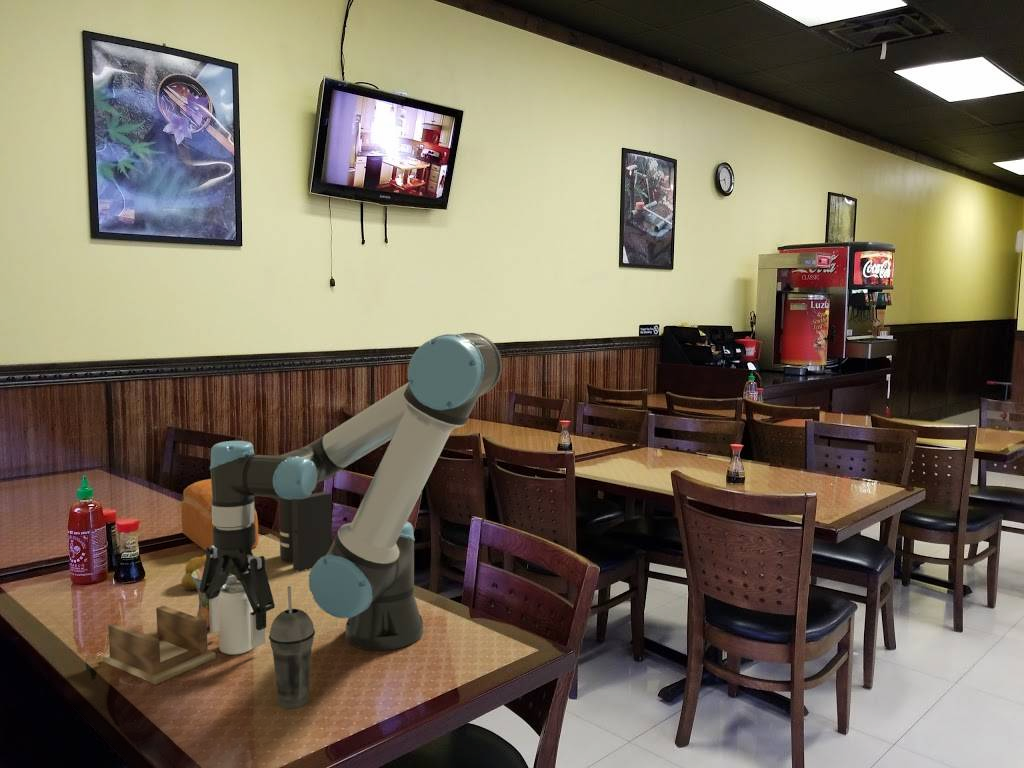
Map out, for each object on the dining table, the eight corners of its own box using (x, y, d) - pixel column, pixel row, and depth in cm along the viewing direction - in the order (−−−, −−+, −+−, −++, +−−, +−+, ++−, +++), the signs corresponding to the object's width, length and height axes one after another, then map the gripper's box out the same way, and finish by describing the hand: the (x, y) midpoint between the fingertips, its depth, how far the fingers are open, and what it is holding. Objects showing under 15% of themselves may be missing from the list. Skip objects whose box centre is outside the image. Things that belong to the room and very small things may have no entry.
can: (243, 637, 154) (241, 578, 153) (262, 647, 150) (260, 586, 149) (212, 649, 149) (210, 587, 148) (231, 659, 145) (229, 596, 144)
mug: (200, 635, 155) (198, 583, 154) (187, 620, 162) (185, 570, 161) (261, 620, 162) (259, 570, 161) (245, 606, 170) (244, 558, 168)
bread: (228, 525, 230) (226, 472, 228) (262, 548, 209) (260, 489, 208) (178, 534, 221) (176, 478, 219) (209, 558, 201) (207, 497, 199)
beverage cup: (320, 690, 134) (318, 576, 132) (311, 712, 126) (308, 592, 124) (277, 690, 133) (274, 576, 131) (265, 713, 126) (261, 592, 124)
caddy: (215, 658, 145) (214, 621, 144) (155, 684, 135) (154, 645, 134) (162, 637, 154) (161, 603, 153) (102, 661, 144) (100, 624, 143)
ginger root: (190, 596, 175) (188, 561, 174) (171, 585, 182) (169, 552, 181) (244, 582, 184) (243, 548, 183) (224, 572, 191) (223, 539, 190)
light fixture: (306, 549, 208) (305, 483, 206) (333, 562, 198) (332, 493, 196) (271, 557, 201) (269, 489, 199) (297, 571, 191) (295, 499, 189)
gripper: (293, 530, 144) (295, 645, 146) (210, 510, 156) (214, 616, 159) (260, 540, 137) (263, 660, 140) (177, 519, 150) (181, 629, 152)
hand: (237, 637), depth 149 cm, fingers open, 11 cm apart
